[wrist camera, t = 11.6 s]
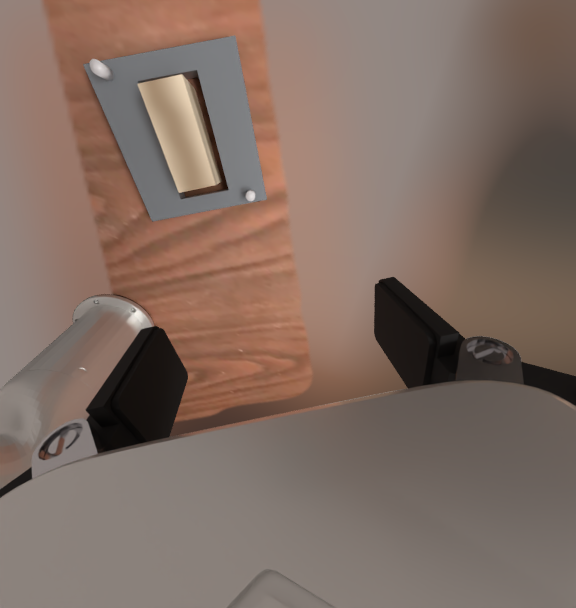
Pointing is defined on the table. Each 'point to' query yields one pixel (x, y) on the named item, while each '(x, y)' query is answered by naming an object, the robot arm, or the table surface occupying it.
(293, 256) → the table surface
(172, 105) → the key block
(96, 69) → the slot board
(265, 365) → the table surface
